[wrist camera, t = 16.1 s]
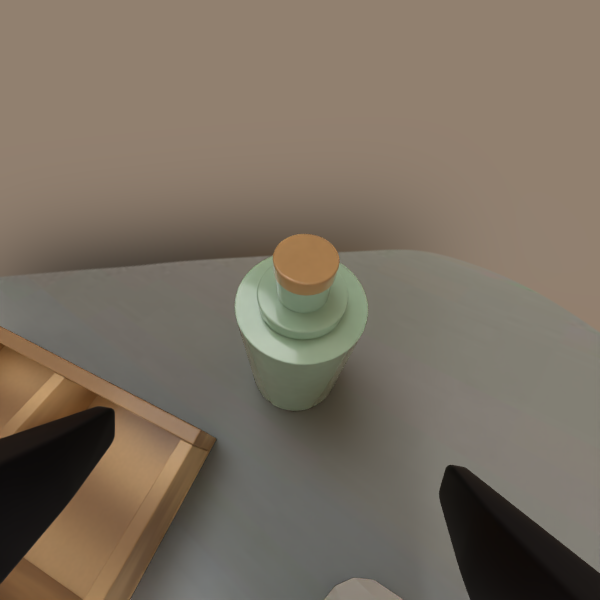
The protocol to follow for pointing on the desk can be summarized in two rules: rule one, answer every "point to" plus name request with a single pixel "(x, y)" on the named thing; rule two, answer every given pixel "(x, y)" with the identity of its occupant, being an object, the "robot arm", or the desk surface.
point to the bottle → (300, 321)
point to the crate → (97, 479)
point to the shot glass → (361, 591)
